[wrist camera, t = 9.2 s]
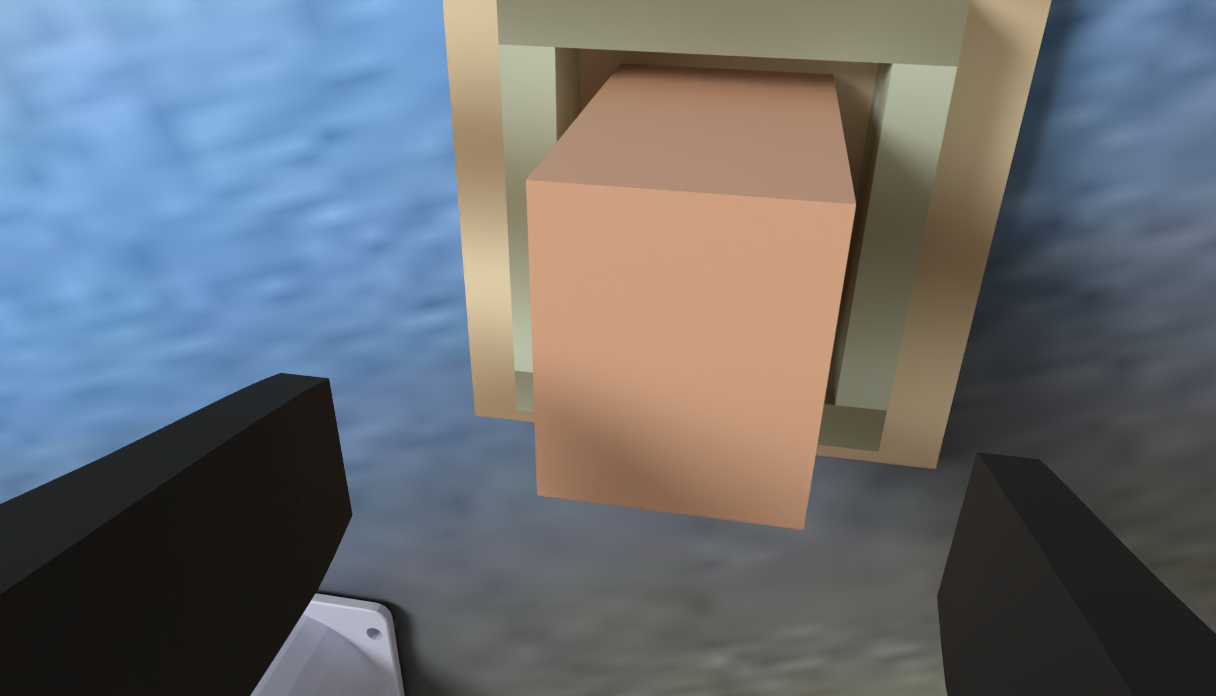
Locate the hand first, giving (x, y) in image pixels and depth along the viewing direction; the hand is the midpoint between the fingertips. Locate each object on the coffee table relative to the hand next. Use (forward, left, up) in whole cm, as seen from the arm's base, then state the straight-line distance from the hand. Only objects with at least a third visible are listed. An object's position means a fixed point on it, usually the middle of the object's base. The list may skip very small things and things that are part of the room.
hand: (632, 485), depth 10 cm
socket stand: (0, 0, -10) cm, 10 cm away
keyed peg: (0, 0, -9) cm, 9 cm away
